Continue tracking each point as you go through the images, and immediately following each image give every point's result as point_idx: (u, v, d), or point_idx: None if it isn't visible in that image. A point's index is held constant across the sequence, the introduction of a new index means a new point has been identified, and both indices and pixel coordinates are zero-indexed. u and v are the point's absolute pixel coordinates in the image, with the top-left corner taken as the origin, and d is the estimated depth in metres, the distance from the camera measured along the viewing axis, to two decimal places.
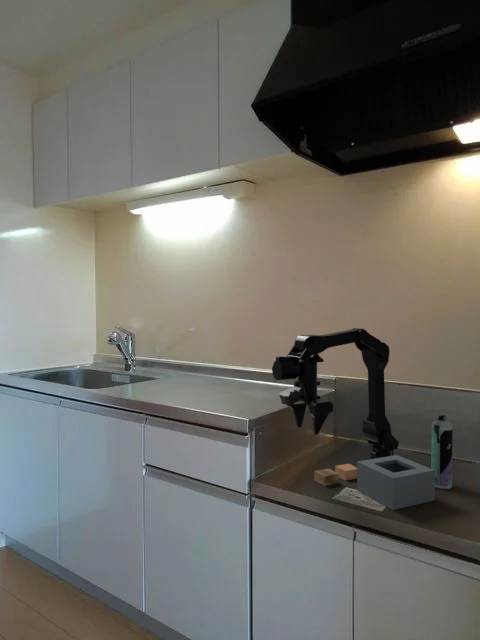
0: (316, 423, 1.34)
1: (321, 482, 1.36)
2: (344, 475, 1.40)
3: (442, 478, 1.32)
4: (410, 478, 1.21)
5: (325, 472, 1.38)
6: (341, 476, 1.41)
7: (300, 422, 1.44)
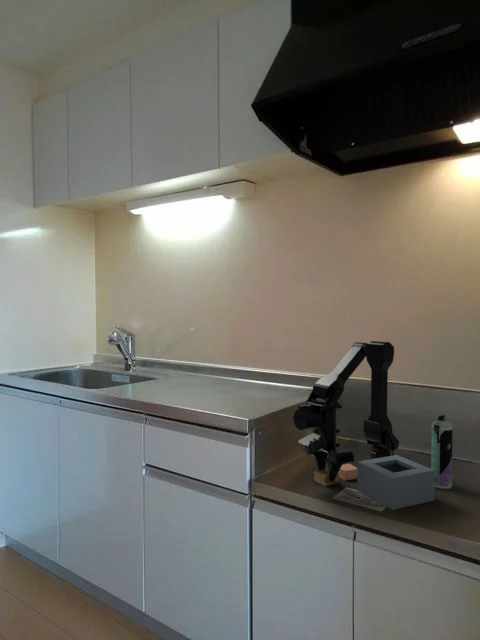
0: (332, 470, 1.34)
1: (322, 482, 1.36)
2: (343, 475, 1.40)
3: (442, 478, 1.32)
4: (410, 478, 1.21)
5: (325, 472, 1.38)
6: (341, 476, 1.41)
7: None
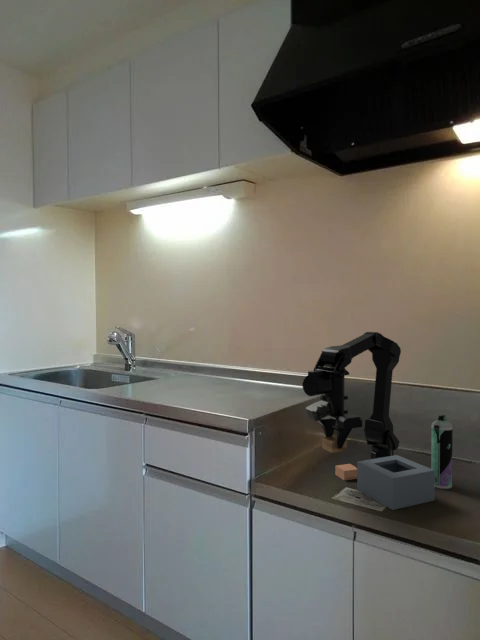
0: (340, 437, 1.33)
1: (329, 448, 1.35)
2: (343, 475, 1.40)
3: (442, 478, 1.32)
4: (410, 478, 1.21)
5: (332, 439, 1.36)
6: (340, 476, 1.41)
7: None
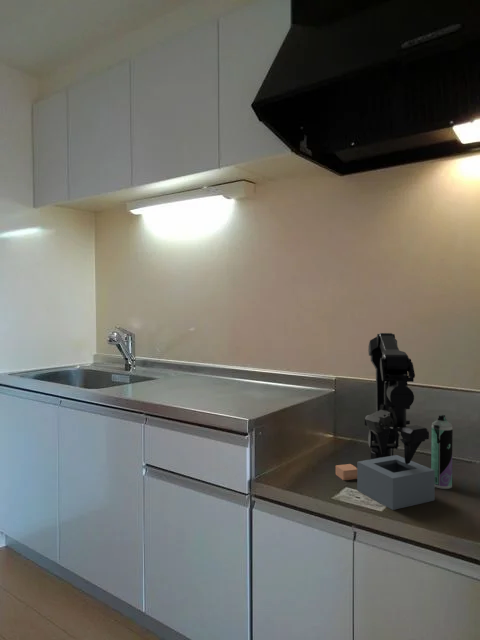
0: (408, 451, 1.22)
1: None
2: (342, 475, 1.40)
3: (442, 478, 1.32)
4: (410, 478, 1.21)
5: None
6: (340, 476, 1.41)
7: (384, 448, 1.32)
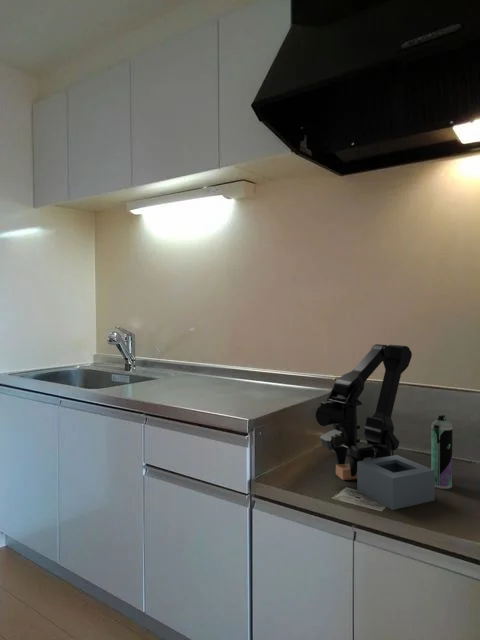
0: (353, 465, 1.38)
1: None
2: (342, 474, 1.40)
3: (442, 478, 1.32)
4: (410, 478, 1.21)
5: None
6: (340, 475, 1.41)
7: None
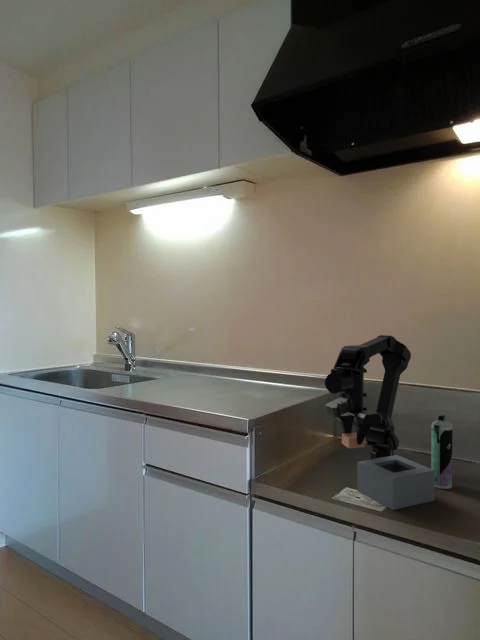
0: (360, 433, 1.36)
1: None
2: (348, 442, 1.38)
3: (442, 478, 1.32)
4: (410, 478, 1.21)
5: None
6: (346, 443, 1.39)
7: None
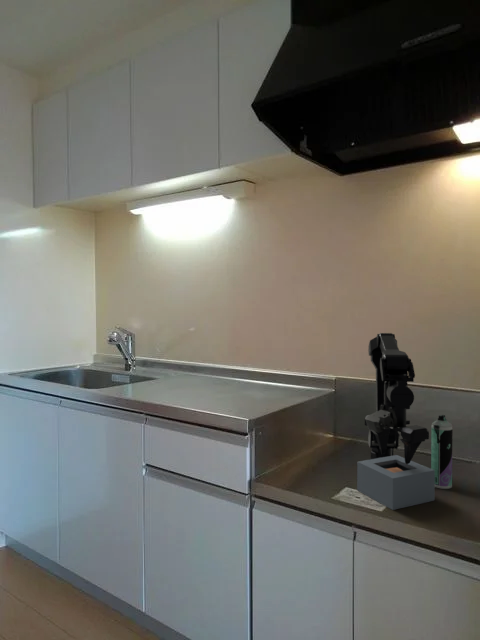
0: (408, 451, 1.22)
1: None
2: None
3: (442, 478, 1.32)
4: (410, 478, 1.21)
5: None
6: None
7: (384, 448, 1.32)
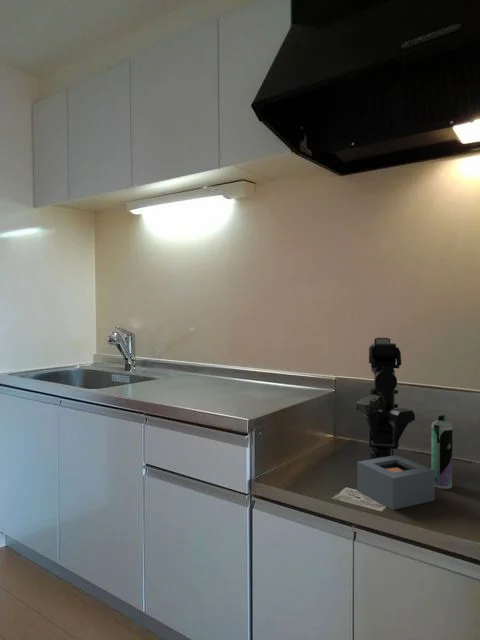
0: (396, 432, 1.33)
1: None
2: None
3: (442, 478, 1.32)
4: (410, 478, 1.21)
5: None
6: None
7: (374, 430, 1.43)
